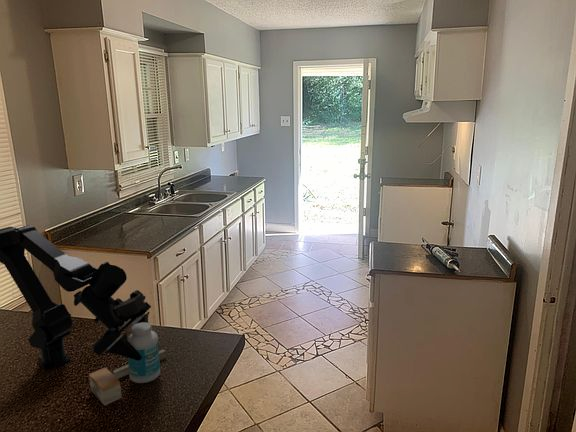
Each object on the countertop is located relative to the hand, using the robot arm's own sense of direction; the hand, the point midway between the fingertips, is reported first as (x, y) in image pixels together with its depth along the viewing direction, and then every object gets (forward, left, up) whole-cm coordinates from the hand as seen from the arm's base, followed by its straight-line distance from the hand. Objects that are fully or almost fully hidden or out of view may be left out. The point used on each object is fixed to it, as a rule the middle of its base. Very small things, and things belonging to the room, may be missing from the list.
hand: (148, 350), depth 108 cm
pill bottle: (-1, -1, -7) cm, 7 cm away
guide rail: (-6, 0, -8) cm, 10 cm away
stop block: (-2, -11, -8) cm, 13 cm away
